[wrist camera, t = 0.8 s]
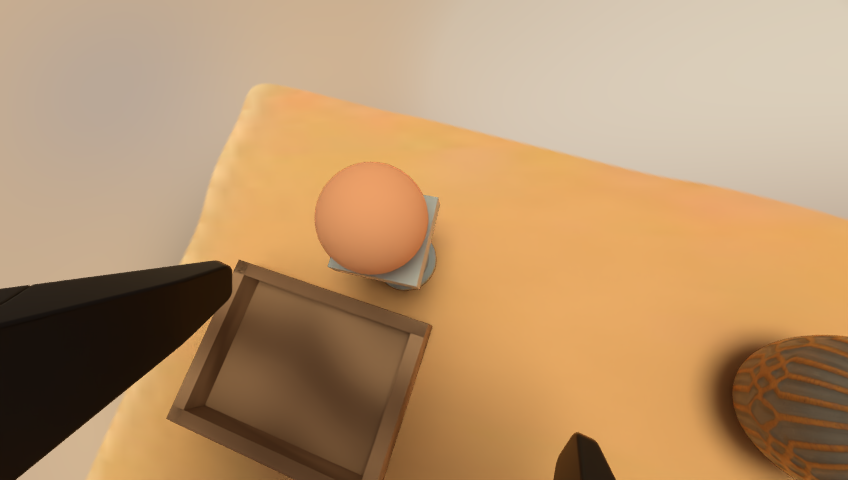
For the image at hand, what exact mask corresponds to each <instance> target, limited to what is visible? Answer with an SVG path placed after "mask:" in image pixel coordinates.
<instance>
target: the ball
mask: <svg viewBox="0 0 848 480" xmlns="http://www.w3.org/2000/svg"><path fill="white" fill-rule="evenodd" d="M315 227H316V232H317V235H318V238H319V241H320V243H321V245H322V246H323V248H324V249H325V251H326V252H327V254H328V255H329V256H330V257H331V258H332V259H333V260H334V261H336V262H337V263H338V264H339V265H341V266H343V267H344V268H346V269H348V270H351V271H353V272H356V273H361V274H368V275H374V274H383V273H387V272H391V271H393V270H396V269H398V268H400V267H401V266H403V265H405V264H406V263H407V262H408V261H410V260H411V259H412V258H413V257H414V256H415V254H416V253H417V252H418V250H419V249H420V247H421V246H422V244H423V241H424V239H425V236H426V233H427V228H428V210H427V205H426V201H425V198H424V196H423V194H422V192H421V190H420V189H419V187H418V185H417V184H416V183H415V182H414V181H413V180H412V179H411V178H410V177H409V176H408V175H407V174H406V173H404V172H403V171H401V170H400V169H398V168H395V167H393V166H391V165H388V164H385V163H379V162H363V163H357V164H354V165H351V166H349V167H347V168H344V169H343V170H341V171H339V172H338V173H337V174H335V175H334V176H333V177H332V178H331V179H330V180H329V181H328V182H327V184H326V185H325V186H324V188H323V189H322V191H321V193H320V195H319V198H318V200H317V204H316V209H315Z"/></svg>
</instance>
